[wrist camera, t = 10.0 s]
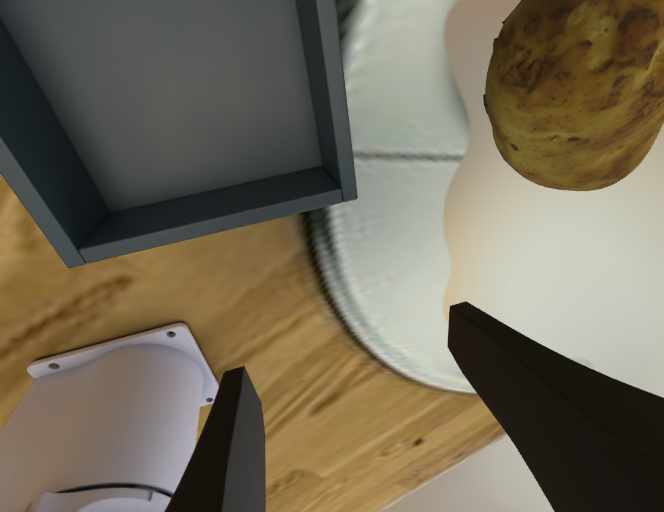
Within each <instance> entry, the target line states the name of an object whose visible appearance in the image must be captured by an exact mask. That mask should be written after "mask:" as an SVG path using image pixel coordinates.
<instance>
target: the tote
mask: <svg viewBox="0 0 664 512" xmlns="http://www.w3.org/2000/svg"><path fill="white" fill-rule="evenodd" d="M0 173H1V175H2V176H3V177H4V179H5V180H6V182H7V183H8V184H9V186H10V187H11V189H12V190H13V191H14V193H15V194H16V196H17V197H18V198H19V200H20V201H21V203H22V204H23V205H24V207H25V208H26V210H27V211H28V212H29V214H30V215H31V217H32V218H33V219H34V221H35V222H36V224H37V225H38V226H39V228H40V229H41V231H42V232H43V233H44V235H45V236H46V238H47V239H48V240H49V242H50V243H51V245H52V246H53V247H54V249H55V250H56V252H57V253H58V254H59V256H60V257H61V259H62V260H63V261H64V263H65V264H66V266H67V267H68V268H72V267H76V266H80V265H85V264H86V263H92V262H96V261H100V260H104V259H108V258H113V257H117V256H121V255H125V254H129V253H134V252H138V251H142V250H146V249H150V248H154V247H159V246H163V245H167V244H171V243H175V242H180V241H184V240H188V239H192V238H196V237H201V236H205V235H209V234H213V233H217V232H222V231H226V230H230V229H234V228H238V227H243V226H247V225H251V224H255V223H259V222H264V221H268V220H272V219H276V218H280V217H284V216H289V215H293V214H297V213H301V212H305V211H310V210H314V209H318V208H322V207H326V206H331V205H335V204H339V203H342V202H347V201H352V200H356V199H357V198H358V196H357V187H356V178H355V170H354V161H353V152H352V143H351V134H350V126H349V117H348V108H347V99H346V90H345V82H344V73H343V64H342V55H341V47H340V38H339V29H338V20H337V11H336V3H335V0H0Z"/></svg>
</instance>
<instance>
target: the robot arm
mask: <svg viewBox="0 0 664 512" xmlns="http://www.w3.org/2000/svg"><path fill="white" fill-rule="evenodd" d="M170 331H172V332H174V333H169V332H170ZM448 348H449V350H450V352H451V354H452V355H453V357H454V359H455V361H456V363H457V364H458V366H459V368H460V369H461V371H462V373H463V374H464V376H465V377H466V378H467V380H468V381H469V383H470V384H471V385H472V387H473V388H474V389H475V391H476V392H477V394H478V395H479V396H480V398H481V399H482V400H483V402H484V403H485V404H486V406H487V407H488V408H489V410H490V411H491V412H492V414H493V415H494V416H495V418H496V419H497V421H498V422H499V423H500V425H501V426H502V427H503V429H504V430H505V431H506V433H507V434H508V436H509V437H510V439H511V440H512V442H513V443H514V445H515V446H516V448H517V449H518V451H519V452H520V454H521V456H522V457H523V459H524V461H525V462H526V464H527V466H528V467H529V469H530V470H531V472H532V474H533V475H534V477H535V479H536V481H537V482H538V484H539V486H540V487H541V489H542V491H543V493H544V494H545V496H546V498H547V499H548V501H549V503H550V504H551V506H552V508H553V510H554V511H555V512H664V398H662V397H660V396H657V395H654V394H652V393H649V392H647V391H644V390H641V389H639V388H636V387H633V386H631V385H628V384H626V383H623V382H621V381H618V380H616V379H613V378H611V377H609V376H606V375H604V374H601V373H599V372H597V371H595V370H593V369H590V368H588V367H586V366H584V365H581V364H579V363H577V362H575V361H573V360H571V359H569V358H567V357H565V356H563V355H561V354H559V353H557V352H555V351H553V350H550V349H549V348H547V347H545V346H543V345H541V344H539V343H537V342H536V341H534V340H532V339H530V338H528V337H526V336H524V335H523V334H521V333H519V332H517V331H516V330H514V329H512V328H510V327H509V326H507V325H505V324H503V323H502V322H500V321H498V320H497V319H495V318H493V317H492V316H490V315H488V314H487V313H485V312H483V311H481V310H480V309H478V308H476V307H475V306H473V305H471V304H470V303H468V302H462V303H459V304H455V305H452V306H450V312H449V330H448ZM54 363H55V364H54ZM27 372H28V373H29V374H30V375H31V376H32V377H33V378H34V379H35V380H34V381H33V383H32V384H31V386H30V387H29V389H28V390H27V392H26V393H25V395H24V396H23V398H22V399H21V401H20V402H19V404H18V405H17V407H16V408H15V410H14V411H13V413H12V414H11V416H10V417H9V419H8V420H7V422H6V423H5V425H4V426H3V428H2V429H1V431H0V512H266V491H265V430H264V421H263V412H262V404H261V401H260V399H259V397H258V395H257V393H256V391H255V388H254V386H253V384H252V382H251V380H250V377H249V375H248V373H247V371H246V369H245V367H244V366H242V367H239V368H235V369H232V370H229V371H225V373H224V374H223V376H222V379H221V382H220V385H219V384H218V382H217V380H216V379H215V377H214V375H213V373H212V371H211V369H210V367H209V366H208V364H207V362H206V360H205V358H204V356H203V354H202V353H201V351H200V349H199V347H198V345H197V343H196V341H195V339H194V338H193V336H192V334H191V332H190V330H189V328H188V327H187V325H186V324H184V323H175V324H172V325H168V326H164V327H160V328H157V329H153V330H149V331H146V332H142V333H138V334H134V335H131V336H127V337H123V338H120V339H116V340H112V341H108V342H105V343H101V344H97V345H93V346H90V347H86V348H82V349H79V350H75V351H71V352H67V353H64V354H60V355H56V356H53V357H49V358H45V359H41V360H38V361H34V362H32V363H31V364H30V365H29V366H28V368H27ZM212 403H213V405H212V408H211V410H210V413H209V416H208V418H207V421H206V423H205V426H204V428H203V430H202V433H201V435H200V438H199V440H198V443H197V445H196V438H197V430H198V421H199V413H200V407H202V406H205V405H208V404H212ZM195 446H196V447H195Z"/></svg>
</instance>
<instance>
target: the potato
mask: <svg viewBox="0 0 664 512" xmlns="http://www.w3.org/2000/svg"><path fill="white" fill-rule="evenodd" d="M502 23H503V27H502V29H501V31H500V34H499V36H498V38H496V39H494V44H493V54H492V57H491V60H490V64H489V68H488V72H487V80H486V93H485V94H484V96H483V98H484V106H485V109H486V113H487V114H488V116H489V119H490V122H491V125H492V128H493V136H494V140H495V143H496V146H497V148H498V150H499V152H500V154H501V155H502V157H503V159H504V160H505V161H506V162H507V163H508V164H509V165H510V166H511V167H512V168H513V169H514V170H515V171H516V172H518V173H519V174H520V175H522V176H523V177H524V178H526V179H528V180H530V181H532V182H534V183H536V184H538V185H541V186H544V187H548V188H554V189H559V190H572V191H590V190H597V189H602V188H605V187H608V186H610V185H613V184H615V183H617V182H618V181H620V180H621V179H623V178H624V177H626V176H627V175H628V174H629V173H631V172H632V171H633V170H634V169H635V168H636V167H637V166H638V165H639V164H640V163H641V162H642V160H643V159H644V158H645V156H646V155H647V153H648V152H649V150H650V149H651V147H652V145H653V143H654V141H655V139H656V138H657V136H658V133H659V131H660V129H661V127H662V125H663V123H664V0H521V2H520V3H519V4H518V6H517V7H516V8H515V9H514V10H513V11H512V13H510V15H509V16H508V17H507V18H506V20H505V21H503V22H502Z"/></svg>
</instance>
